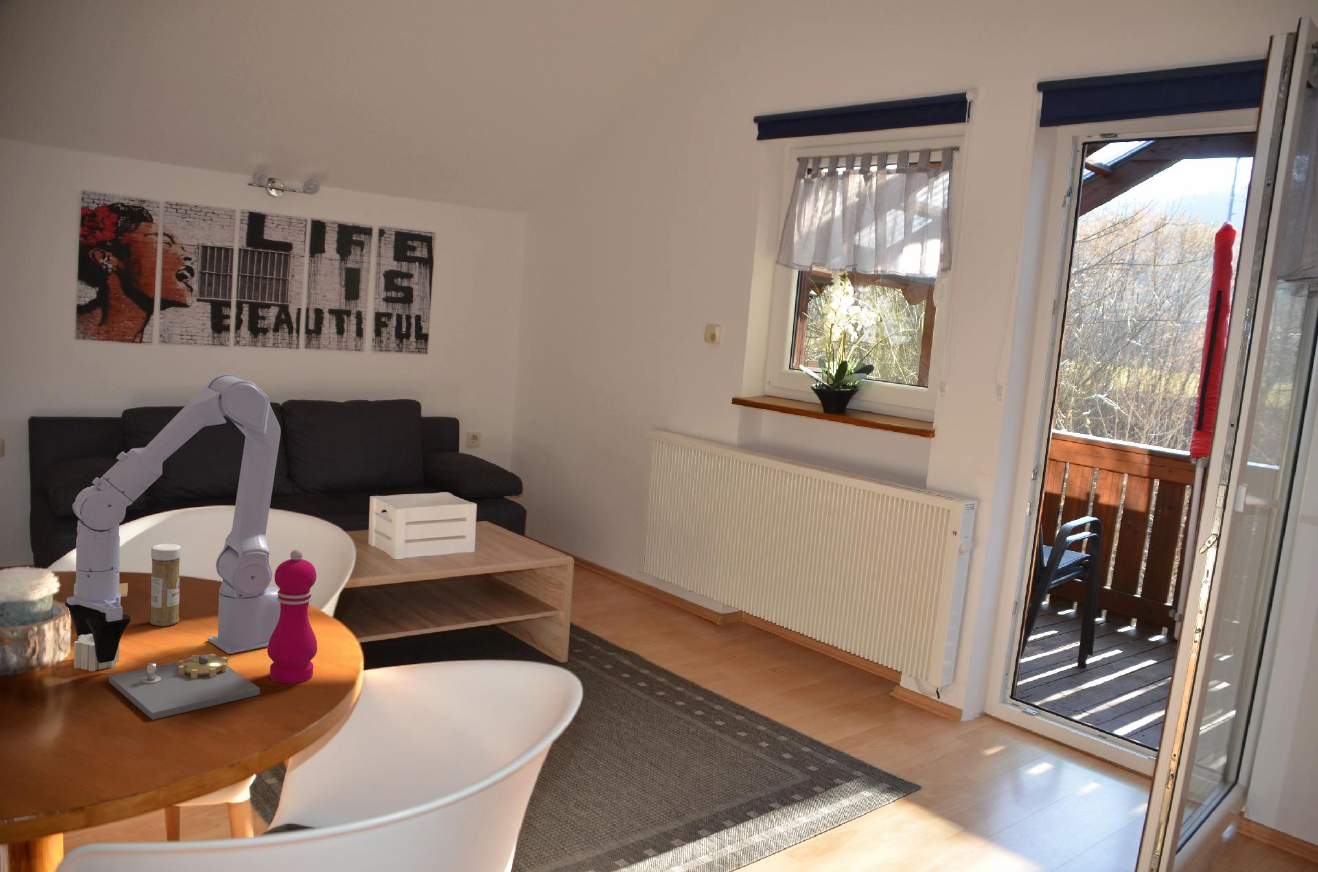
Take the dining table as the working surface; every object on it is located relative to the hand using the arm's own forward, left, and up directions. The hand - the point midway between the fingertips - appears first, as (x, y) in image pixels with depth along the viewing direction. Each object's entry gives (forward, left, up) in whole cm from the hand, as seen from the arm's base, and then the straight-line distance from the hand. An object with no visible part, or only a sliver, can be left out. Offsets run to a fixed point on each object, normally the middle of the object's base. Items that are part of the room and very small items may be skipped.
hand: (96, 653), depth 154 cm
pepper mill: (-21, +20, -2) cm, 29 cm away
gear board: (-7, +16, -2) cm, 17 cm away
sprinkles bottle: (-15, -13, -2) cm, 20 cm away
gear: (0, 0, -2) cm, 2 cm away
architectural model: (-11, -26, -2) cm, 29 cm away
